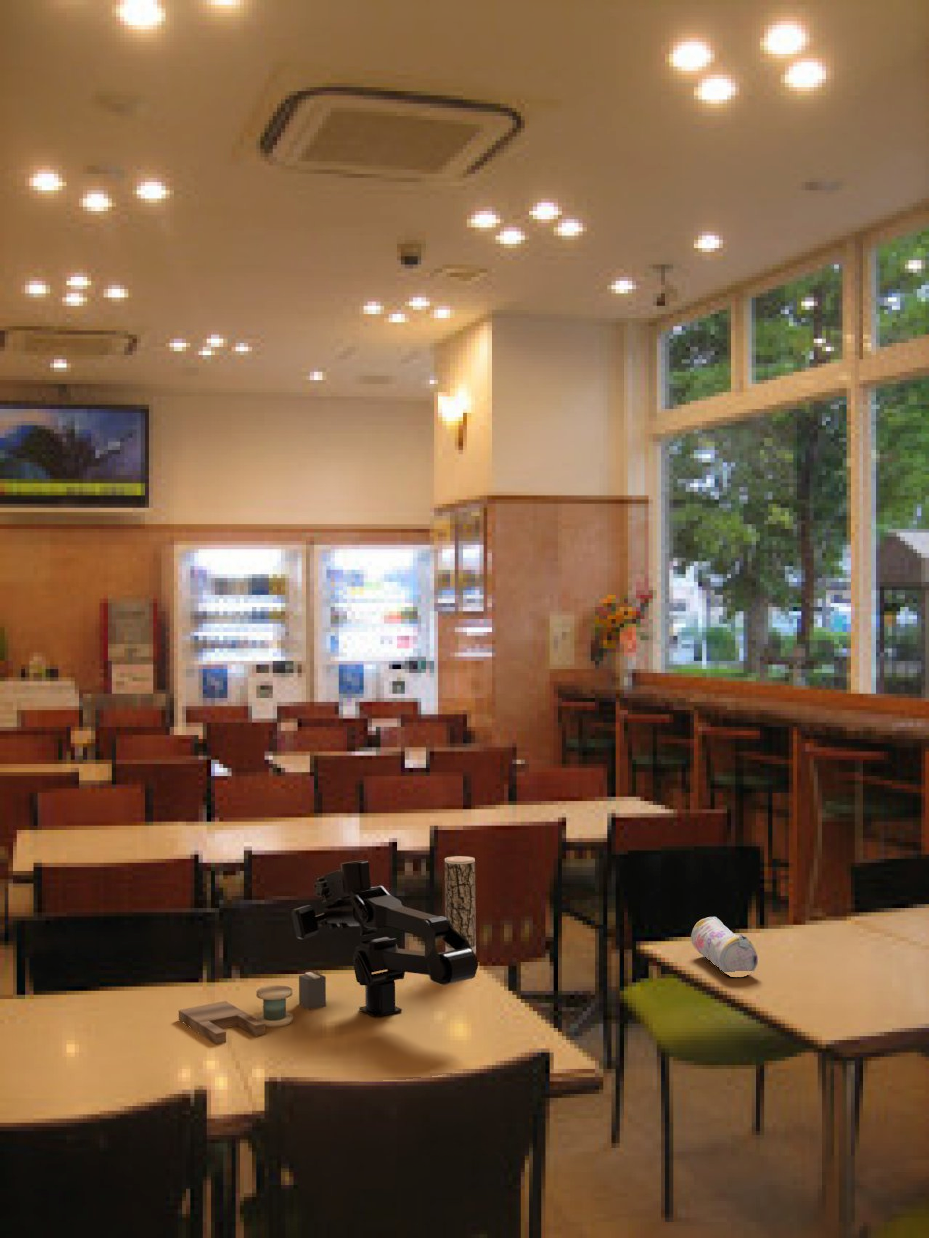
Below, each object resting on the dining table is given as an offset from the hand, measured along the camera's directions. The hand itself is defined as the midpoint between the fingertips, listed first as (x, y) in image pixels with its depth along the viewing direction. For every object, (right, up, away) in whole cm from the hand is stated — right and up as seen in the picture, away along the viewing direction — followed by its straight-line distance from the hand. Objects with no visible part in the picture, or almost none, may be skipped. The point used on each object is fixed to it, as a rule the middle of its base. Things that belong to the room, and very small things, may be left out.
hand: (312, 913), depth 276 cm
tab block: (+2, -15, -15) cm, 21 cm away
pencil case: (+91, -15, +11) cm, 93 cm away
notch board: (-14, -16, -28) cm, 35 cm away
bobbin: (-4, -15, -25) cm, 30 cm away
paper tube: (+32, -15, +10) cm, 37 cm away
